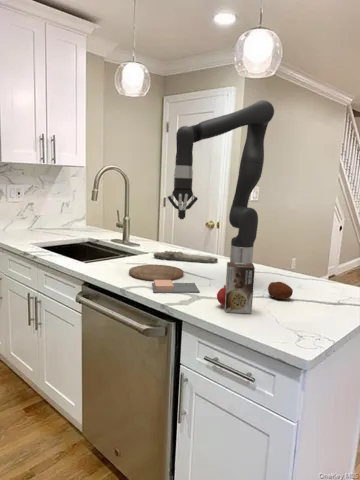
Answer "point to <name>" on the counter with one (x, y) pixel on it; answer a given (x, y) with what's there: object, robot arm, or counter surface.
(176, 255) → the elongated rock
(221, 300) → the pomegranate
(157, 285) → the tile
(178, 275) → the trivet
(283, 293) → the potato
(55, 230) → the counter surface
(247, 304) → the coffee box
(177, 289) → the mat
